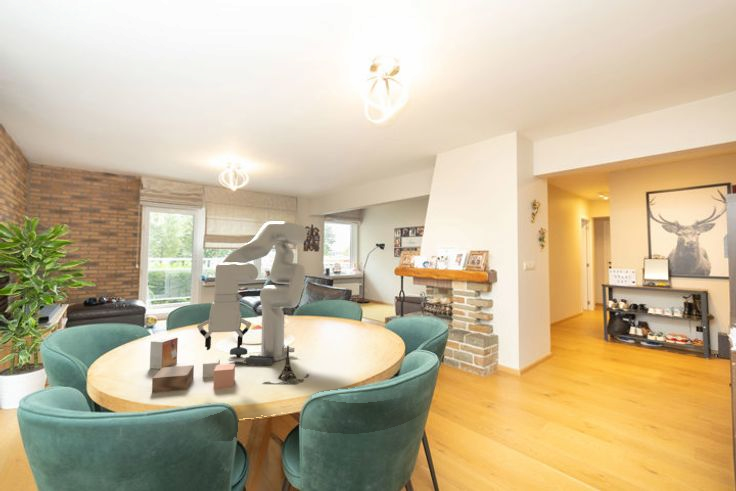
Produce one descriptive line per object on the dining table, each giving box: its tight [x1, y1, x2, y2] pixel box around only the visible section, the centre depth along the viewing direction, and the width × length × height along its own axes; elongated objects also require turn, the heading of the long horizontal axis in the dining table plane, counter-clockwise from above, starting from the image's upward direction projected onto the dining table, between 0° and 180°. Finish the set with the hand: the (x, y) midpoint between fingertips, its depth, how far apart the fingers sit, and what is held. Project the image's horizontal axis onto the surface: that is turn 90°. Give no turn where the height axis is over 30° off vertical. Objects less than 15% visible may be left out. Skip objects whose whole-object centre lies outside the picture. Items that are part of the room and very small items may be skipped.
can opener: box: [228, 346, 276, 367], centre depth 133 cm, size 19×5×6 cm, turn 85°
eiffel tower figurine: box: [262, 345, 310, 385], centre depth 117 cm, size 15×10×13 cm
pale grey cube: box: [202, 358, 221, 378], centre depth 121 cm, size 5×5×5 cm
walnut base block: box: [151, 364, 195, 394], centre depth 110 cm, size 10×10×5 cm
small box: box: [149, 336, 179, 370], centre depth 129 cm, size 8×6×10 cm
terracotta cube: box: [213, 363, 236, 390], centre depth 112 cm, size 6×6×6 cm
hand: (223, 348), depth 111 cm, fingers open, 9 cm apart
